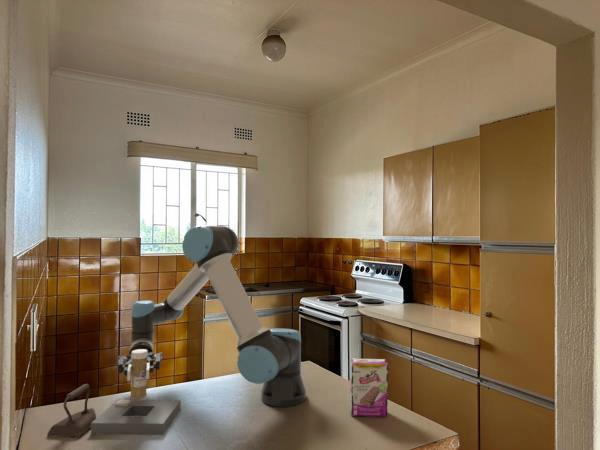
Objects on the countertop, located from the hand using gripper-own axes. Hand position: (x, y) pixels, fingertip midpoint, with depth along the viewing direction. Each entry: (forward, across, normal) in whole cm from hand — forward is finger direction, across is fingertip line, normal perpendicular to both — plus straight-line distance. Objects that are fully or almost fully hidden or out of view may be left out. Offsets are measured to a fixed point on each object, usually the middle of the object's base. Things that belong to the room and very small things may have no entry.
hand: (138, 375), depth 114 cm
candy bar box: (+13, -67, -15) cm, 70 cm away
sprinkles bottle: (-5, 0, -8) cm, 10 cm away
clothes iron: (-8, +16, -16) cm, 24 cm away
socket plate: (-5, 0, -15) cm, 16 cm away
